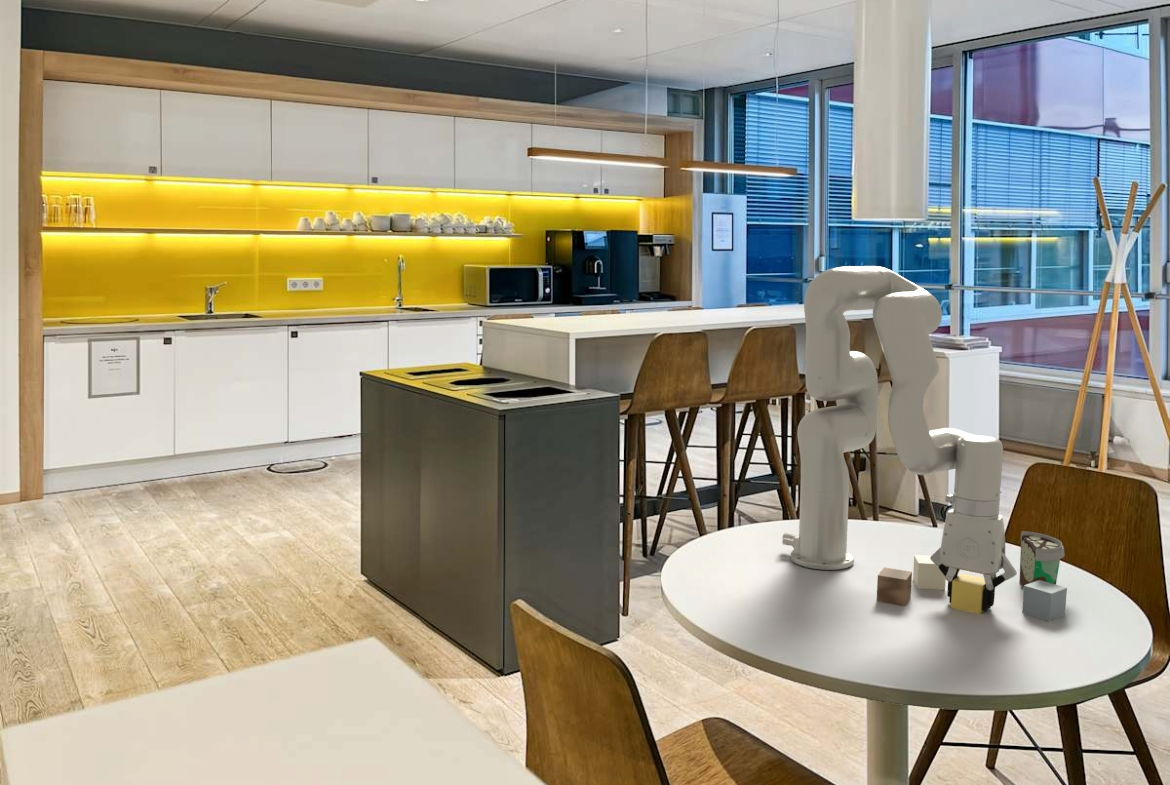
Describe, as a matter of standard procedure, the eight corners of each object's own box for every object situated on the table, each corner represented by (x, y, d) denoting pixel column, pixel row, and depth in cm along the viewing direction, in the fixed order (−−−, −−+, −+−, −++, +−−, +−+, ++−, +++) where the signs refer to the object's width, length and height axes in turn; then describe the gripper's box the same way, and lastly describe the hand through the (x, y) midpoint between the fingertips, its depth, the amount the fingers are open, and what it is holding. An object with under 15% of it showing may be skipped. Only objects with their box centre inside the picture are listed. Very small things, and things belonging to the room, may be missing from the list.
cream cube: (917, 588, 185) (918, 563, 184) (912, 579, 190) (914, 554, 189) (945, 590, 184) (946, 564, 183) (939, 581, 189) (941, 556, 188)
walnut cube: (876, 601, 178) (877, 575, 177) (882, 593, 182) (884, 567, 182) (904, 606, 176) (906, 579, 175) (910, 598, 180) (912, 571, 179)
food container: (1069, 605, 176) (1073, 551, 174) (1032, 603, 177) (1036, 549, 176) (1051, 583, 188) (1055, 532, 186) (1017, 580, 189) (1020, 530, 188)
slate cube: (1022, 612, 173) (1024, 585, 172) (1037, 606, 176) (1039, 579, 175) (1049, 621, 169) (1051, 593, 168) (1064, 615, 172) (1067, 587, 171)
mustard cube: (950, 607, 175) (952, 580, 174) (960, 600, 179) (962, 573, 178) (979, 614, 172) (981, 586, 171) (988, 606, 176) (990, 579, 175)
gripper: (920, 502, 175) (915, 600, 178) (1020, 519, 164) (1013, 623, 167) (935, 494, 181) (930, 589, 183) (1033, 510, 170) (1026, 610, 173)
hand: (970, 604), depth 175 cm, fingers closed on mustard cube, 5 cm apart
